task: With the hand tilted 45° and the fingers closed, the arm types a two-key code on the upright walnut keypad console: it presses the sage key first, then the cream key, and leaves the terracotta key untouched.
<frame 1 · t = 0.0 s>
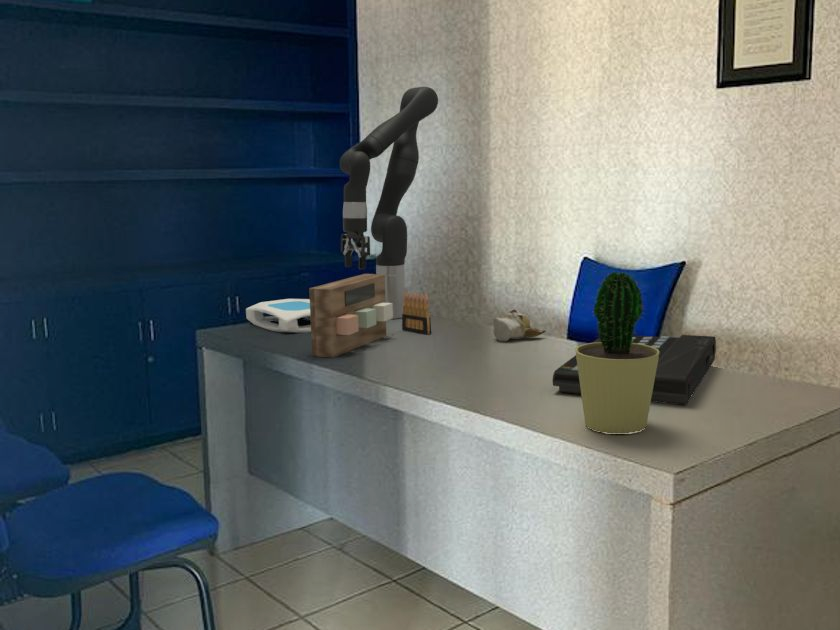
hand: (355, 268, 271), 17 cm above the table, fingers open, 8 cm apart
cream key: (379, 311, 245), point 8 cm above the table, slide at 0.0 cm
potted cactus: (615, 427, 163), on the table
terracotta key: (344, 324, 228), point 8 cm above the table, slide at 0.0 cm
ceramic sculpture: (515, 339, 244), on the table
keypad console: (353, 345, 239), on the table
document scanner: (295, 325, 273), on the table
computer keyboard: (639, 378, 200), on the table
sage key: (362, 317, 236), point 8 cm above the table, slide at 0.0 cm
ammunition clip: (416, 332, 256), on the table
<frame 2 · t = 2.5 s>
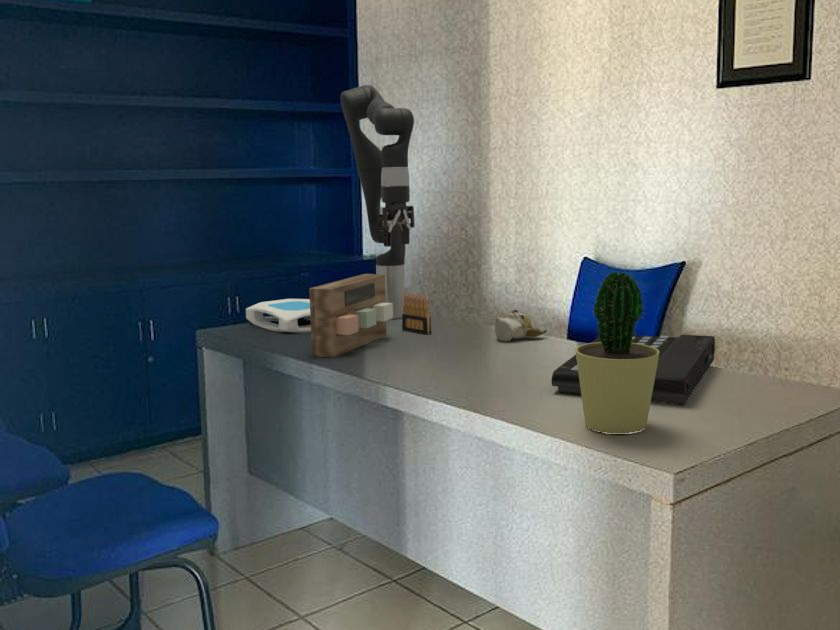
hand: (396, 245, 232), 28 cm above the table, fingers open, 8 cm apart
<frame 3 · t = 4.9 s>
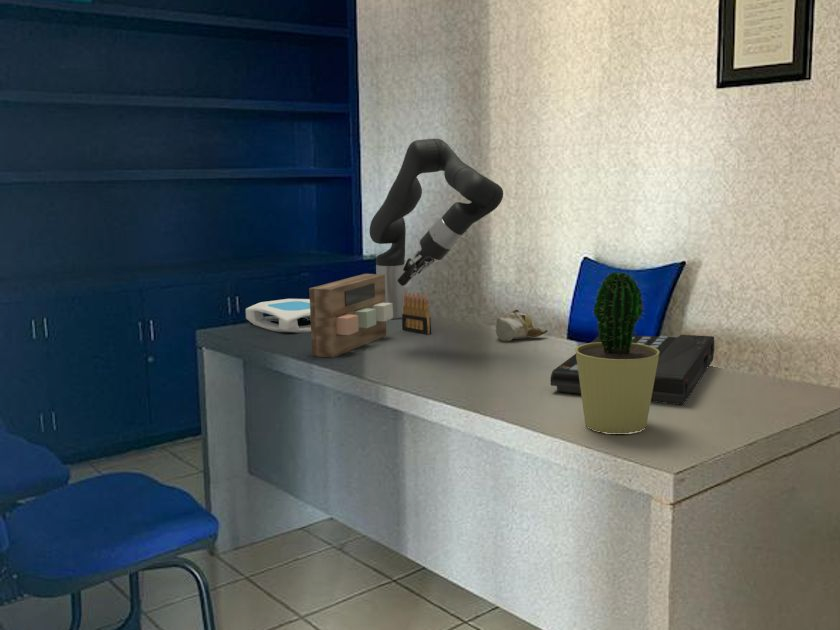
hand: (400, 283, 229), 18 cm above the table, fingers closed
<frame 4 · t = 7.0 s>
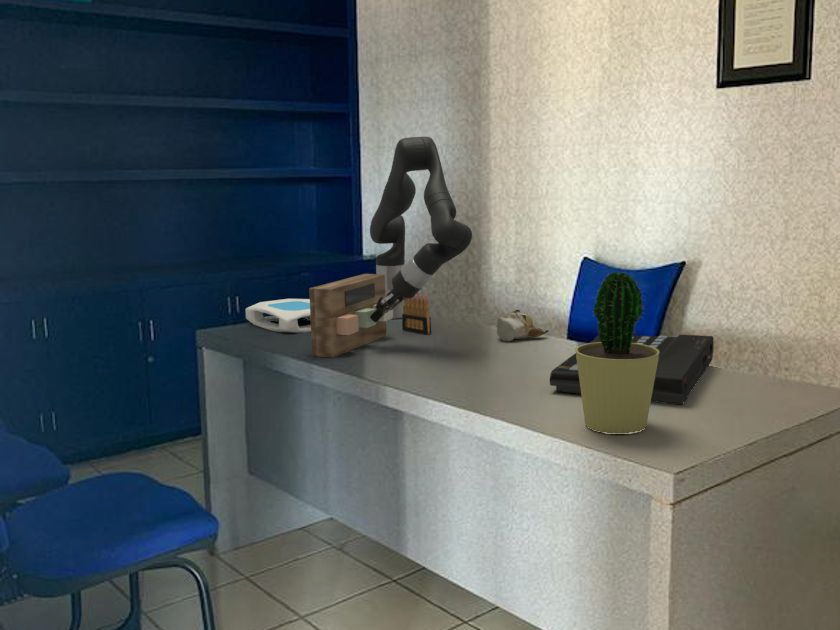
hand: (373, 319, 235), 8 cm above the table, fingers closed
sage key: (362, 317, 237), point 8 cm above the table, slide at 0.1 cm, touching gripper
everything else where it was.
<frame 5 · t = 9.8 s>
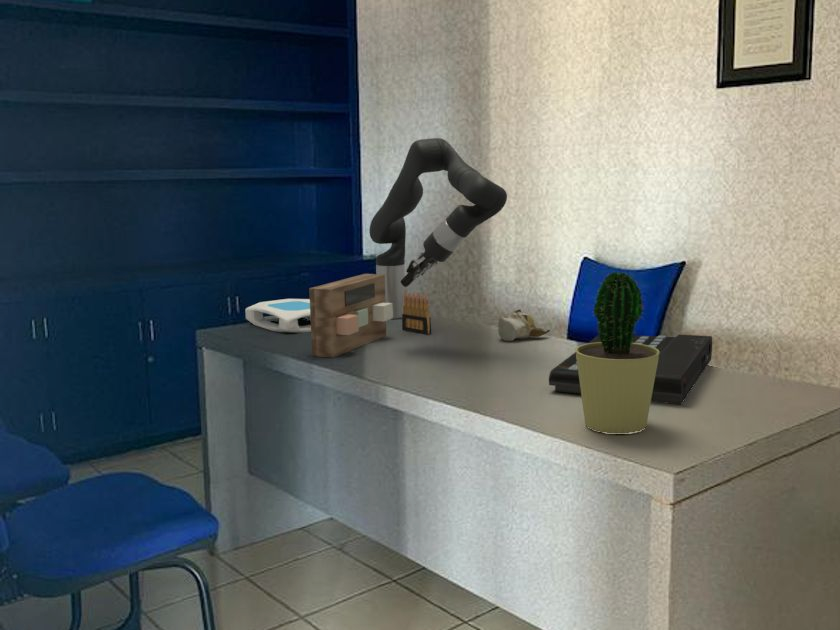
hand: (403, 284, 230), 18 cm above the table, fingers closed
sage key: (354, 317, 238), point 8 cm above the table, slide at 2.6 cm
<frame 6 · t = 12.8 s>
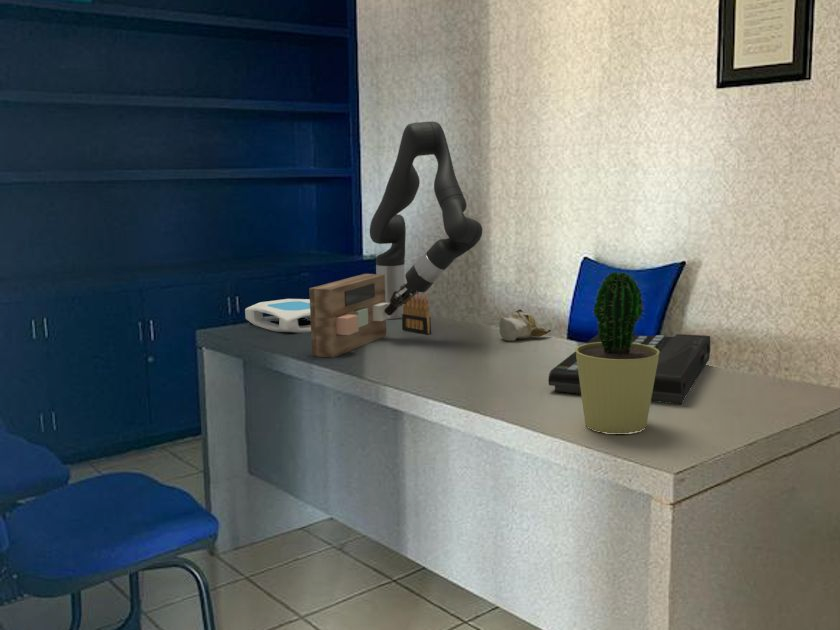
hand: (387, 312, 245), 8 cm above the table, fingers closed
cream key: (376, 311, 246), point 8 cm above the table, slide at 1.0 cm, touching gripper
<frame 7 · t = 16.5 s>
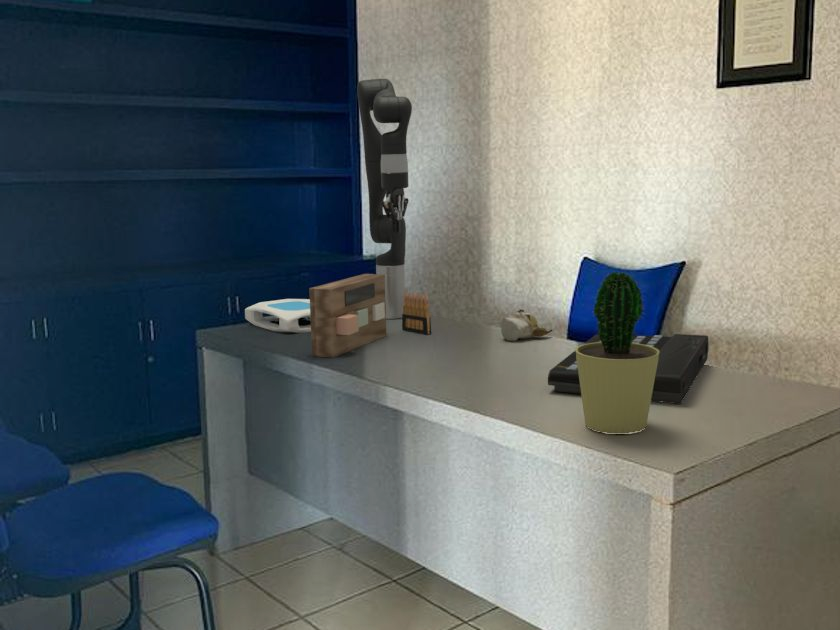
hand: (396, 233, 242), 30 cm above the table, fingers closed
cream key: (371, 311, 246), point 8 cm above the table, slide at 2.6 cm
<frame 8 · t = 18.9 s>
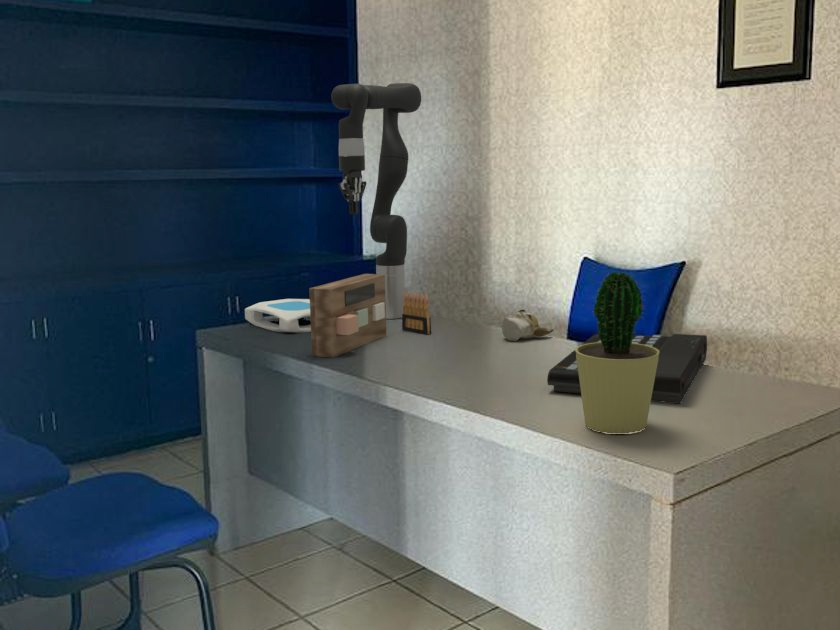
hand: (353, 214, 254), 35 cm above the table, fingers closed
at the end: sage key slide at 2.6 cm; cream key slide at 2.6 cm; terracotta key slide at 0.0 cm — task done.
